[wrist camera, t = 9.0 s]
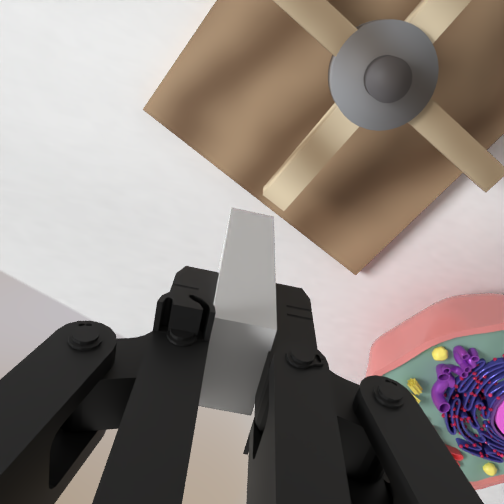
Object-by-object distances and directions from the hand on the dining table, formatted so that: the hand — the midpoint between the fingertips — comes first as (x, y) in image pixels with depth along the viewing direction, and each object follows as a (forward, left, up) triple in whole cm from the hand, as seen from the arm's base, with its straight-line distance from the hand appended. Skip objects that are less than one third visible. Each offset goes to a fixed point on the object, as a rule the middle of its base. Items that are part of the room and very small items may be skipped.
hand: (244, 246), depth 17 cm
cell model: (+26, -4, -21) cm, 34 cm away
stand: (+3, +8, -21) cm, 22 cm away
